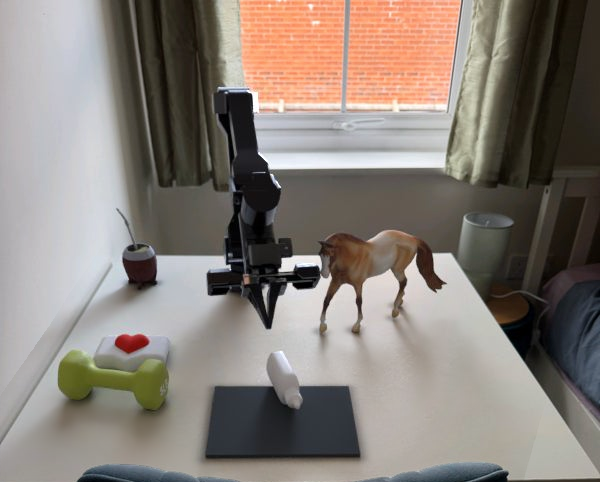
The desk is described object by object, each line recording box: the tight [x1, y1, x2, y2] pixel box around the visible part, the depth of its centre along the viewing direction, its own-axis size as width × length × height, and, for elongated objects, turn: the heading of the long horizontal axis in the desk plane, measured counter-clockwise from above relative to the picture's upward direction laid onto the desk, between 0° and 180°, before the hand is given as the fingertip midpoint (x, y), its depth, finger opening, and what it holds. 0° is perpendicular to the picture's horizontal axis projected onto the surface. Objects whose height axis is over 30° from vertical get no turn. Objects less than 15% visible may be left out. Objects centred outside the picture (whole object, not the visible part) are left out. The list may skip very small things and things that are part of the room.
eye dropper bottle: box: [266, 350, 303, 409], centre depth 94 cm, size 4×6×12 cm
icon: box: [92, 333, 171, 373], centre depth 103 cm, size 12×4×10 cm
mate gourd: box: [115, 207, 158, 290], centre depth 126 cm, size 8×8×15 cm
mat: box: [204, 385, 361, 459], centre depth 92 cm, size 17×22×1 cm
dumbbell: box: [57, 349, 170, 411], centre depth 93 cm, size 16×8×7 cm, turn 79°
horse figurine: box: [317, 229, 448, 334], centre depth 112 cm, size 31×8×21 cm, turn 123°
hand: (268, 328), depth 99 cm, fingers closed
